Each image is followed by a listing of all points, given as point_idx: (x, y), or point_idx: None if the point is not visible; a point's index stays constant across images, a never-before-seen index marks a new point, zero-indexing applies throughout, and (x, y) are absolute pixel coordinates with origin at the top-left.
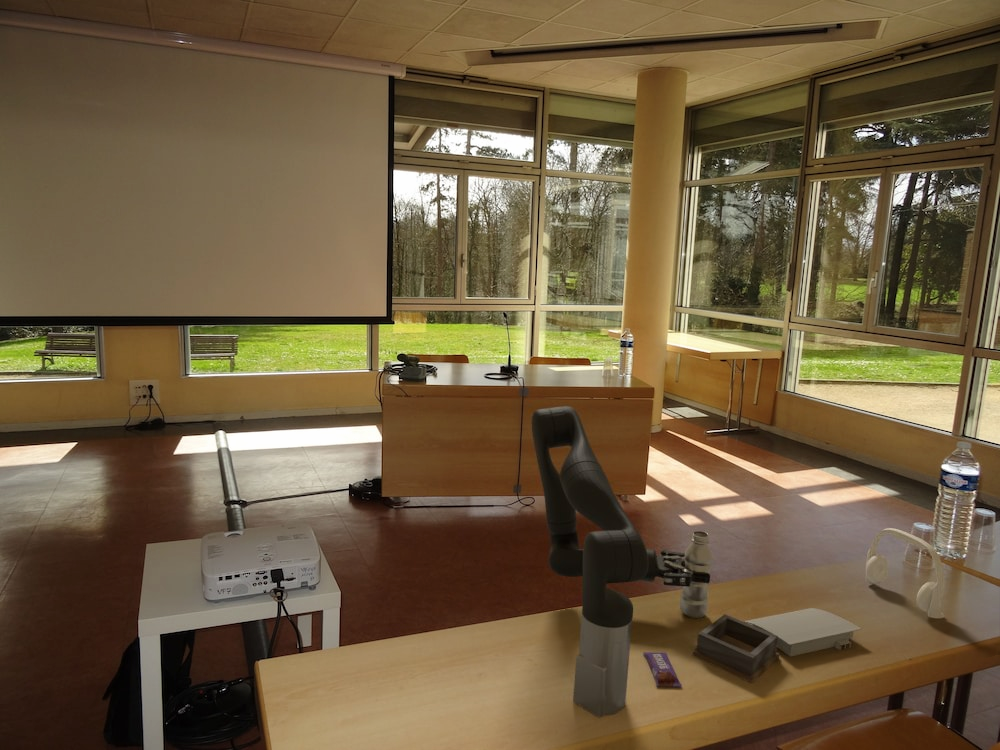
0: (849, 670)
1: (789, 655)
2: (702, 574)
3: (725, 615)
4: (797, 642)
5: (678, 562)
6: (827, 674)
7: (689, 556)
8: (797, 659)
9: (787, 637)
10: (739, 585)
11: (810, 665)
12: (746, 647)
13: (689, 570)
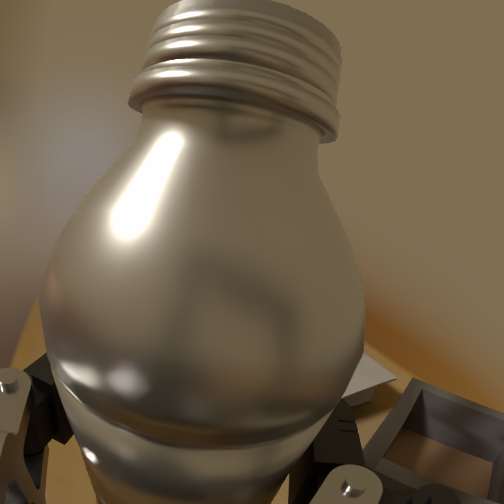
0: (370, 351)
1: (368, 400)
2: (332, 415)
3: (366, 459)
4: (379, 365)
5: (15, 490)
6: (399, 373)
7: (315, 357)
8: (374, 394)
9: (369, 373)
10: (35, 347)
11: (385, 384)
12: (400, 459)
13: (262, 489)
